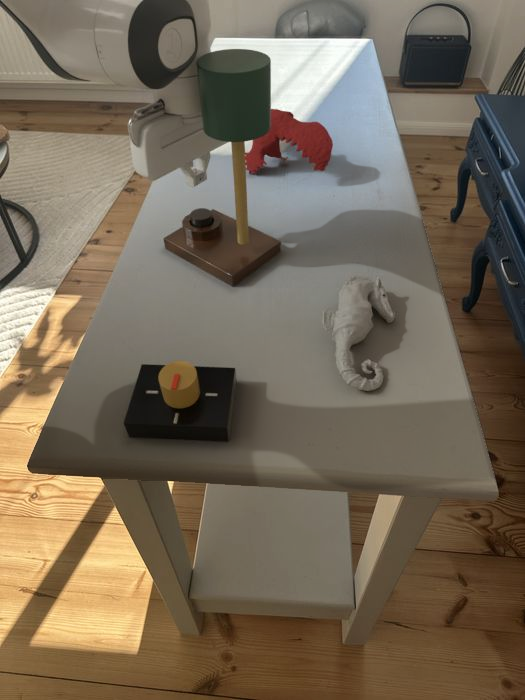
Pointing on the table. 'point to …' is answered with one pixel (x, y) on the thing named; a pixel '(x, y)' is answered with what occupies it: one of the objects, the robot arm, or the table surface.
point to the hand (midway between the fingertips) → (197, 182)
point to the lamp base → (222, 248)
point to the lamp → (236, 110)
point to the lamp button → (201, 218)
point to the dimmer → (183, 423)
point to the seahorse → (357, 326)
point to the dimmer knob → (179, 384)
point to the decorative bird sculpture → (305, 134)
